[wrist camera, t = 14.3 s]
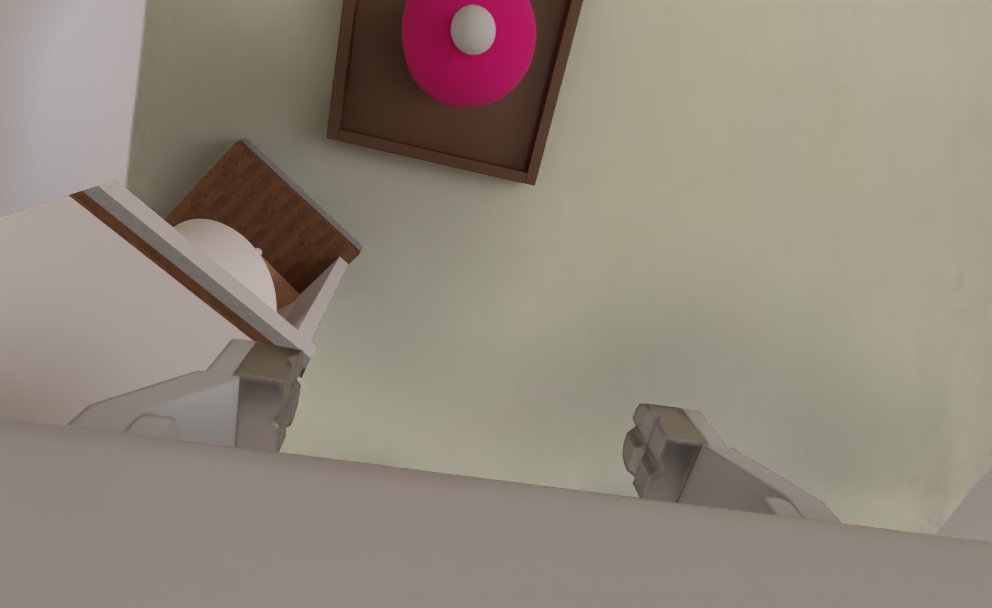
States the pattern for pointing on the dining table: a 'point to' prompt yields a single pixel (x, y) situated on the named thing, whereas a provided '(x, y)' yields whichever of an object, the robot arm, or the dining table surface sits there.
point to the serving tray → (429, 124)
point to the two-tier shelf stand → (158, 284)
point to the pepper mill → (468, 48)
